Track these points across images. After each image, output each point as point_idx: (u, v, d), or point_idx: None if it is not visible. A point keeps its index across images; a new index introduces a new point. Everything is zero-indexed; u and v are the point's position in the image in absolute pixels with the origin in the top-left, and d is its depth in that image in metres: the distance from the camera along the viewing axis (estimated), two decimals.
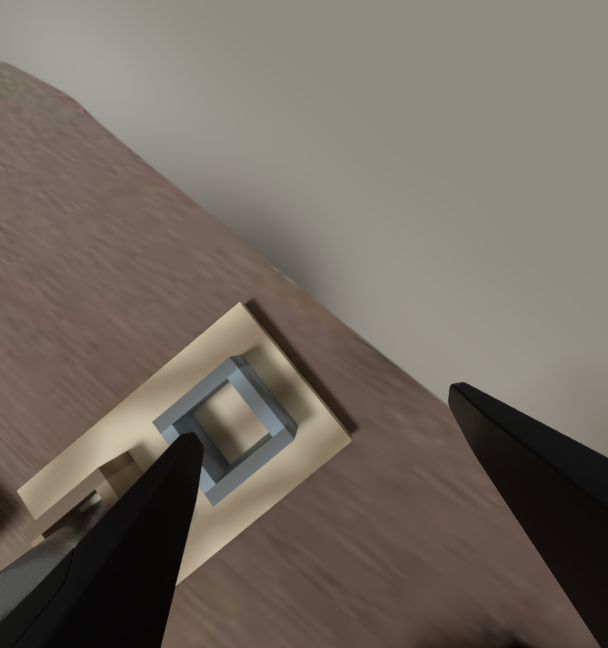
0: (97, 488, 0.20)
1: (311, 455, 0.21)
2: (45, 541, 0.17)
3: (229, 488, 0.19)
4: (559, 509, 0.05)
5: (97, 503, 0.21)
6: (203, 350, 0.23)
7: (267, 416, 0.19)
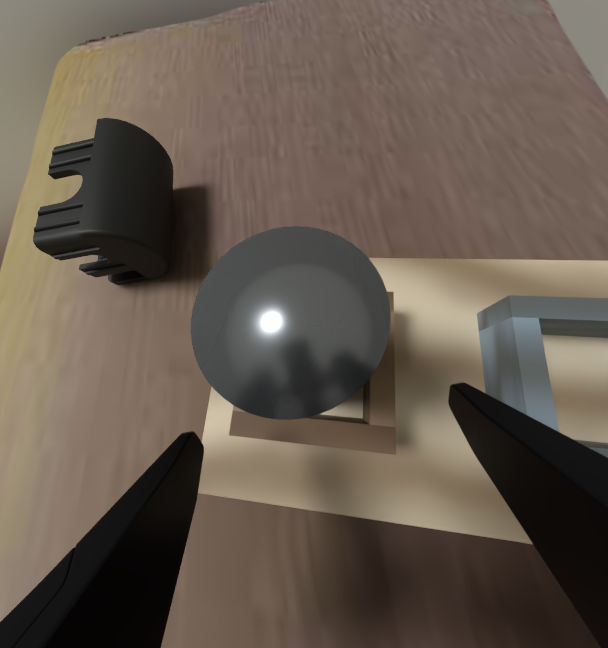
0: None
1: None
2: None
3: None
4: (559, 509, 0.05)
5: None
6: (568, 278, 0.16)
7: None
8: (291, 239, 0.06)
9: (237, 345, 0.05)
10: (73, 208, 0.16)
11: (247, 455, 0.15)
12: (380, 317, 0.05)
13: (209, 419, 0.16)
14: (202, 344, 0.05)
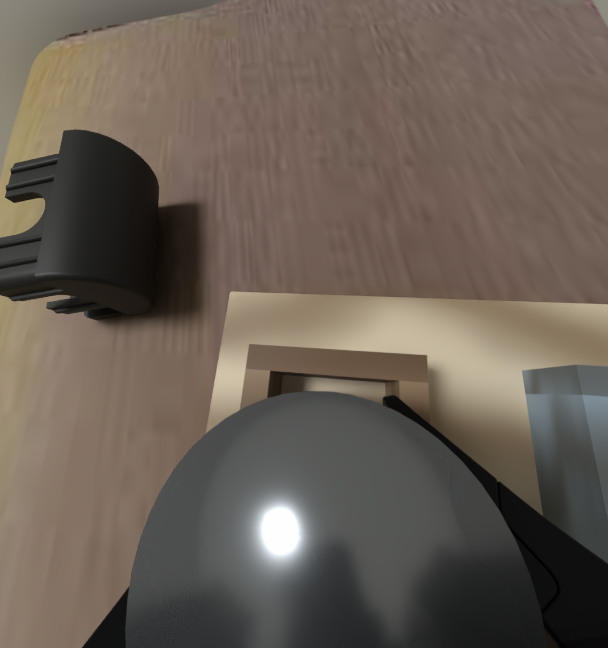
0: (404, 383, 0.11)
1: None
2: None
3: None
4: None
5: None
6: None
7: None
8: (321, 420, 0.03)
9: None
10: (32, 242, 0.13)
11: None
12: None
13: None
14: None
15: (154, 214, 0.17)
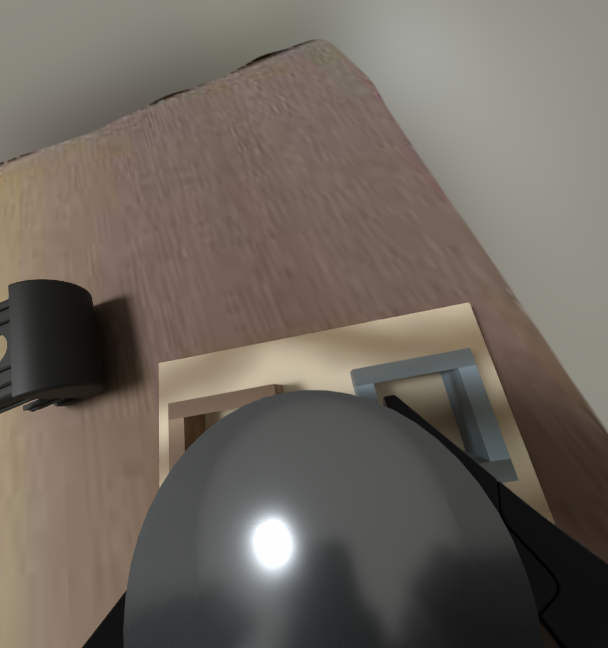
0: None
1: None
2: None
3: None
4: None
5: None
6: (408, 329, 0.21)
7: (492, 434, 0.15)
8: (319, 419, 0.03)
9: None
10: (4, 371, 0.19)
11: None
12: (521, 647, 0.02)
13: None
14: None
15: (91, 320, 0.23)
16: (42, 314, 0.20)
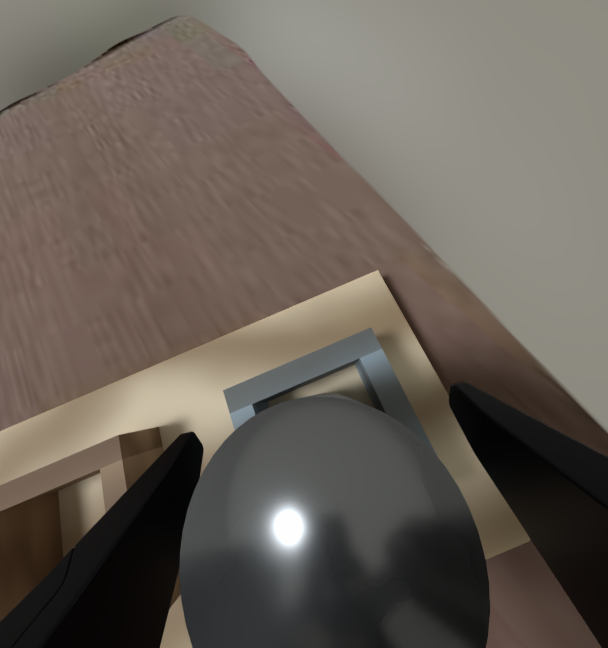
0: (103, 469, 0.12)
1: None
2: None
3: None
4: (560, 509, 0.05)
5: None
6: (310, 319, 0.16)
7: None
8: (325, 419, 0.04)
9: (249, 611, 0.03)
10: None
11: None
12: (472, 583, 0.03)
13: None
14: (196, 602, 0.04)
15: None
16: None
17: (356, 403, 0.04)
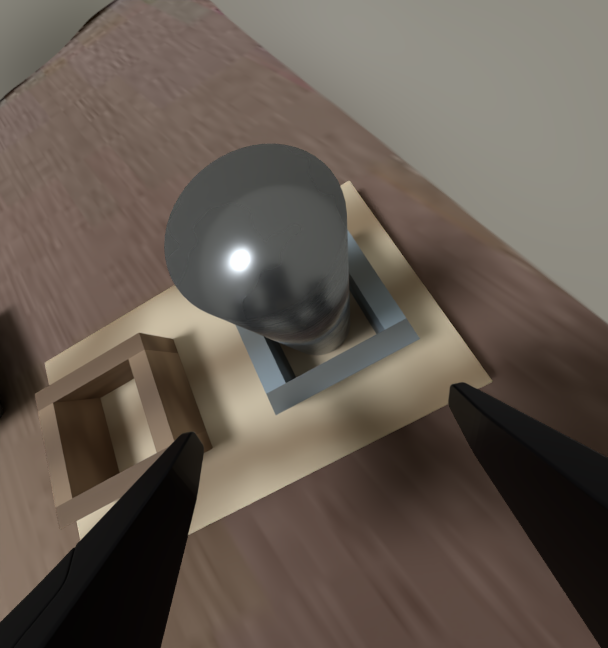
0: (131, 358, 0.15)
1: (420, 391, 0.14)
2: None
3: (304, 392, 0.12)
4: (559, 509, 0.05)
5: None
6: None
7: (381, 299, 0.13)
8: (249, 158, 0.06)
9: (207, 262, 0.06)
10: None
11: None
12: (337, 215, 0.05)
13: None
14: (176, 266, 0.06)
15: None
16: None
17: (268, 144, 0.06)
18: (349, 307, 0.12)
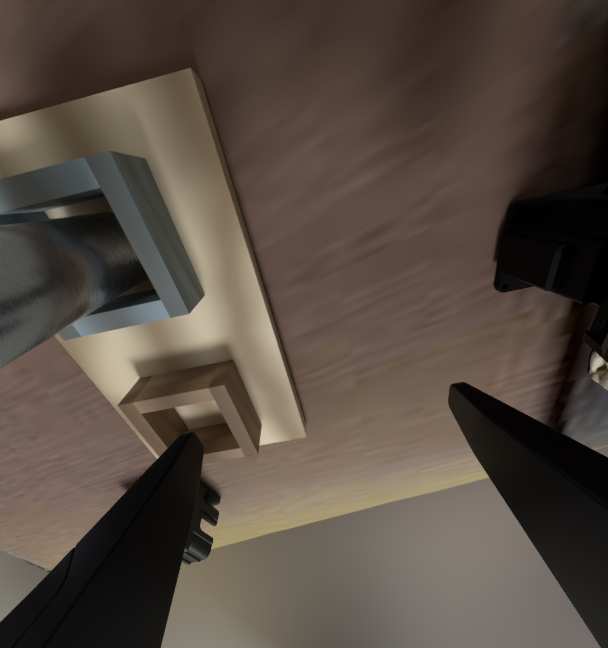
0: (140, 411, 0.18)
1: (197, 162, 0.14)
2: None
3: (169, 285, 0.14)
4: (559, 509, 0.05)
5: None
6: None
7: (61, 178, 0.11)
8: None
9: None
10: None
11: (276, 421, 0.24)
12: None
13: (267, 442, 0.25)
14: None
15: None
16: None
17: None
18: (59, 225, 0.11)
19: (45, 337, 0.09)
